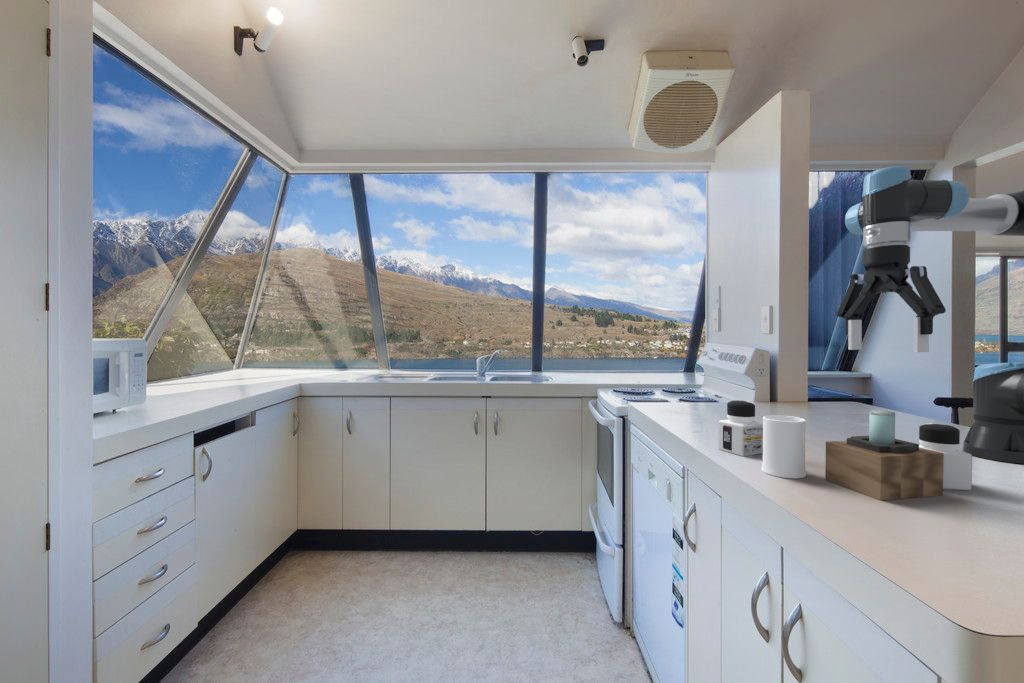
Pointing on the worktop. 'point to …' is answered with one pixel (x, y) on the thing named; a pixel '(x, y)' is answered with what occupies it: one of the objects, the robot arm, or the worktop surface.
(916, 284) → the robot arm
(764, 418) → the mug
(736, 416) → the container
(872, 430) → the peg
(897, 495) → the socket block
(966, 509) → the worktop surface
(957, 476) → the medicine bottle
